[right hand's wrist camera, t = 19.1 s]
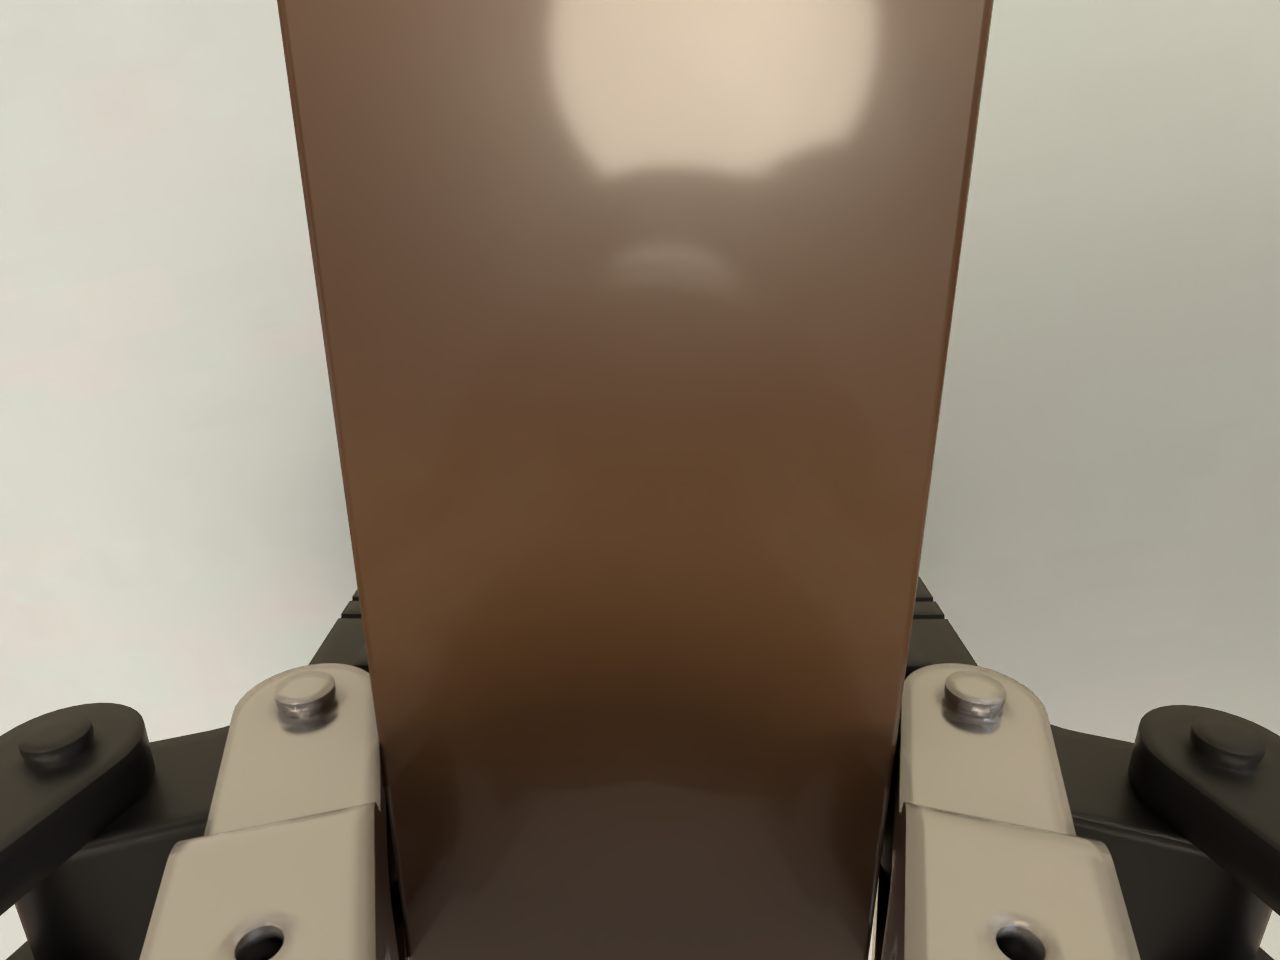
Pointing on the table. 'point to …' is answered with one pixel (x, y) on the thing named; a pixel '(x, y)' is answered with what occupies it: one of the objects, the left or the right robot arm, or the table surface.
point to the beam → (636, 444)
